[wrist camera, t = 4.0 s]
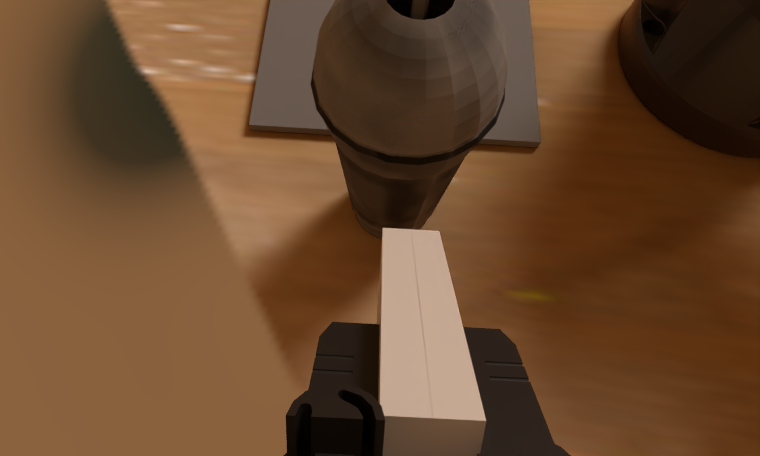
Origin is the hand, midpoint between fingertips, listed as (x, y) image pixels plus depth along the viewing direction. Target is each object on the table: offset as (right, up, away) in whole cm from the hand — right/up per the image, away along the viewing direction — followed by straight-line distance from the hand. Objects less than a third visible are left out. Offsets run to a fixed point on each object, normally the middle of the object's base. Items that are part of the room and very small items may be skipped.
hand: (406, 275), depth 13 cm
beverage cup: (0, +3, +16) cm, 16 cm away
